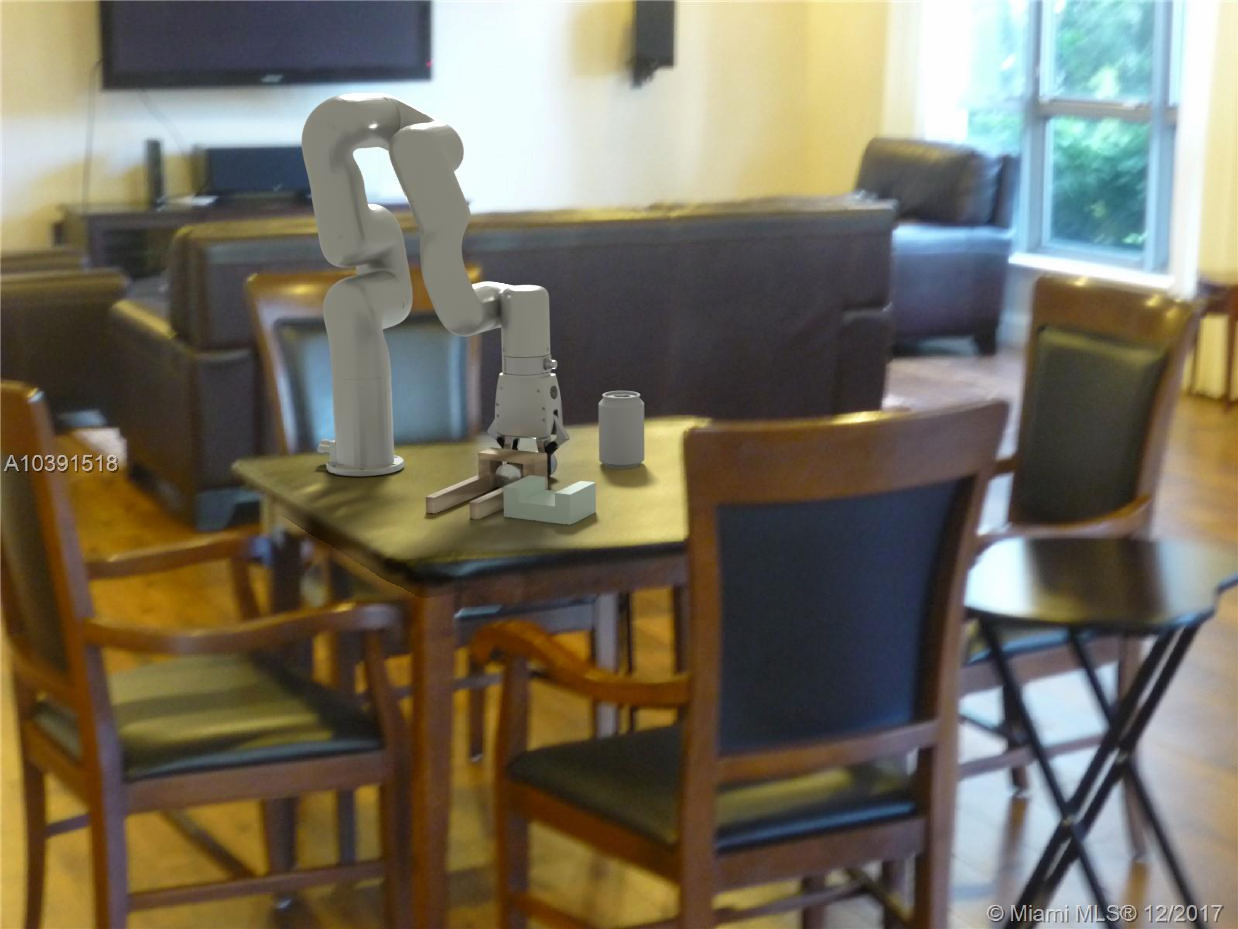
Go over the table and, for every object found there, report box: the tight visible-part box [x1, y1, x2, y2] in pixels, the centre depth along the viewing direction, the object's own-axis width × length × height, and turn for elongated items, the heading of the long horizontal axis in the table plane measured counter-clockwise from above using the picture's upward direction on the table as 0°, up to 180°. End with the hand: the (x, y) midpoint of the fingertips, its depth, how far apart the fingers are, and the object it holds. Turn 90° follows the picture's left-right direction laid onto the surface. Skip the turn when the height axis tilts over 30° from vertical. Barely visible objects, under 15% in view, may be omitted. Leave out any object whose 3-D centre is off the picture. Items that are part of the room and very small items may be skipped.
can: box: [598, 390, 645, 470], centre depth 280 cm, size 8×8×12 cm
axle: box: [495, 450, 558, 489], centre depth 269 cm, size 12×4×4 cm, turn 153°
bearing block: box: [425, 447, 549, 520], centre depth 258 cm, size 10×20×6 cm, turn 154°
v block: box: [503, 475, 597, 526], centre depth 251 cm, size 11×8×4 cm
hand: (529, 478), depth 270 cm, fingers closed on axle, 4 cm apart
